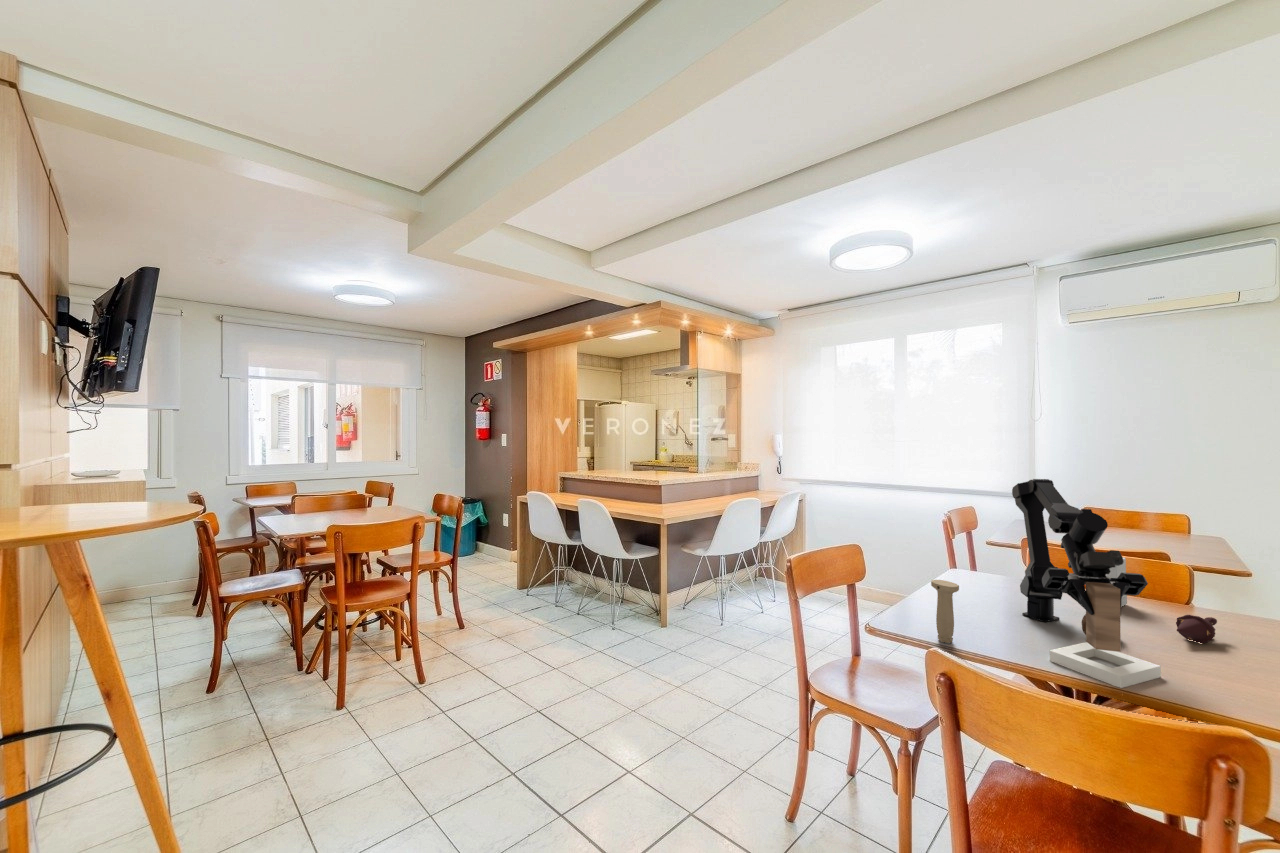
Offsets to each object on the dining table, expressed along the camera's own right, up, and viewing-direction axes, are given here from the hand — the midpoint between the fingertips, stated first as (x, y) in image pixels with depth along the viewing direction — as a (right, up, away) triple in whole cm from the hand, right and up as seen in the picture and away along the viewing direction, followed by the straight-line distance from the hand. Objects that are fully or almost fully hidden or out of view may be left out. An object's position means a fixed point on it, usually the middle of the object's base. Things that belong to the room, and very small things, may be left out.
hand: (1105, 615), depth 119 cm
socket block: (0, -13, +1) cm, 13 cm away
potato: (+15, -13, +19) cm, 27 cm away
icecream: (+38, -13, +16) cm, 43 cm away
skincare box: (+41, -13, +45) cm, 62 cm away
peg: (0, -8, +1) cm, 8 cm away
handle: (-27, -13, +17) cm, 34 cm away
